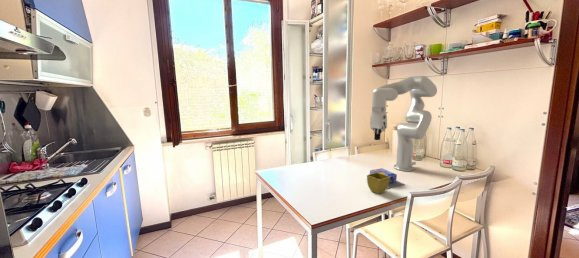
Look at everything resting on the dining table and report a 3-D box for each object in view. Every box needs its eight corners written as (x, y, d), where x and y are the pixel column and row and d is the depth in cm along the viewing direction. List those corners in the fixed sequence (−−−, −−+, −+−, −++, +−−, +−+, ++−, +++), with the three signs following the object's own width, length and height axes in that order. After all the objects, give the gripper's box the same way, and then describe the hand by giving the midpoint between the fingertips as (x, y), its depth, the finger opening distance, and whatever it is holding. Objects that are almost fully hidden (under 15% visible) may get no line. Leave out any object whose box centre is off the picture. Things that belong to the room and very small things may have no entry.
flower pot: (376, 187, 143) (377, 171, 141) (389, 192, 135) (390, 176, 134) (365, 190, 138) (366, 175, 136) (378, 196, 131) (379, 180, 129)
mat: (385, 176, 159) (385, 175, 159) (404, 184, 145) (404, 184, 145) (367, 179, 153) (367, 179, 153) (386, 189, 140) (386, 188, 140)
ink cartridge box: (382, 167, 157) (400, 175, 144) (381, 175, 159) (399, 184, 145) (369, 169, 154) (387, 178, 141) (369, 178, 155) (386, 187, 142)
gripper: (393, 110, 145) (391, 141, 148) (374, 108, 158) (373, 136, 161) (383, 111, 142) (381, 142, 145) (365, 109, 155) (364, 138, 158)
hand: (377, 139), depth 153 cm, fingers closed
